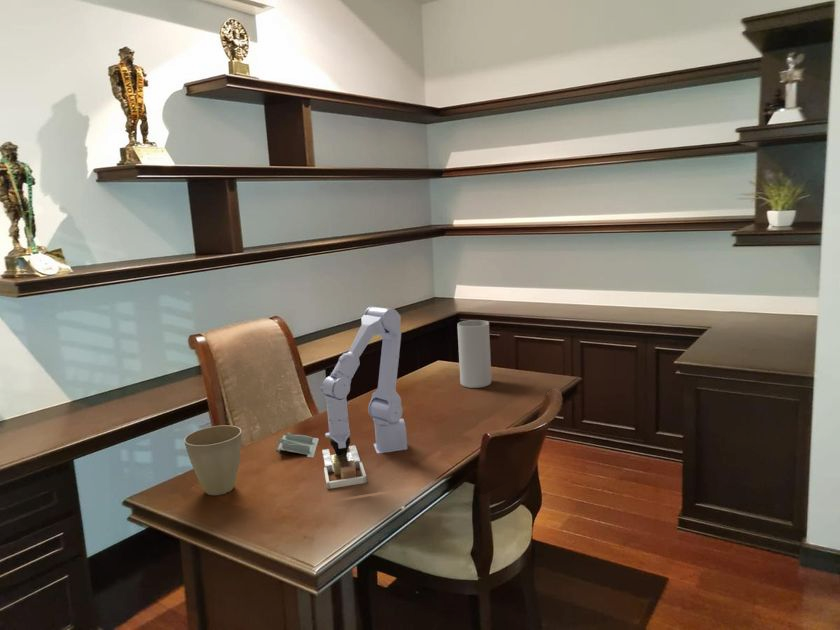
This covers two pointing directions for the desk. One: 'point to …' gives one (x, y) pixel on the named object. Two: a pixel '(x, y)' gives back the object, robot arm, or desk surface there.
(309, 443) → the metal bracket
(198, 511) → the desk surface
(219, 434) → the plant pot
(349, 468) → the copper cube
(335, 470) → the brass cube
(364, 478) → the tray
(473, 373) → the cylinder vase
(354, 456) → the aluminium channel
